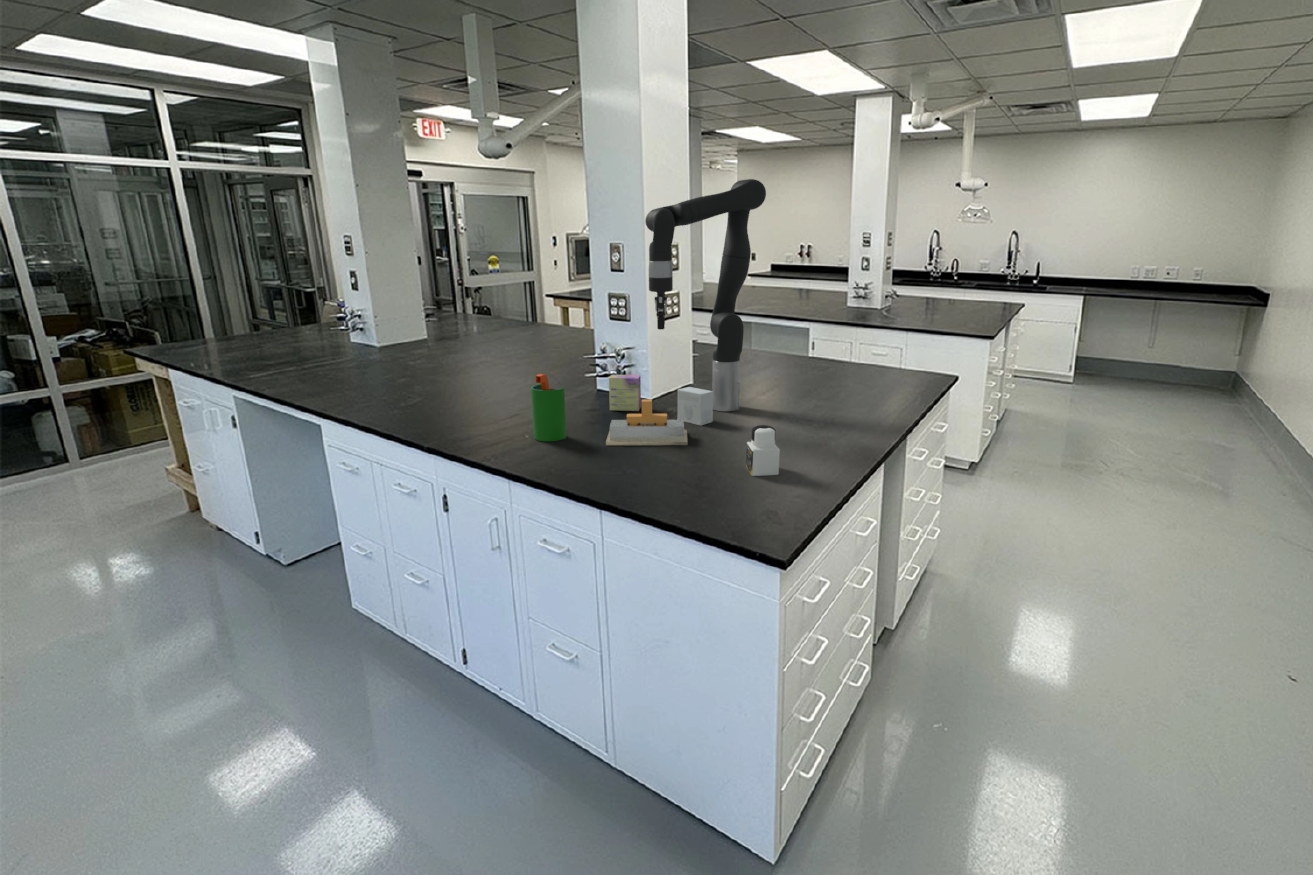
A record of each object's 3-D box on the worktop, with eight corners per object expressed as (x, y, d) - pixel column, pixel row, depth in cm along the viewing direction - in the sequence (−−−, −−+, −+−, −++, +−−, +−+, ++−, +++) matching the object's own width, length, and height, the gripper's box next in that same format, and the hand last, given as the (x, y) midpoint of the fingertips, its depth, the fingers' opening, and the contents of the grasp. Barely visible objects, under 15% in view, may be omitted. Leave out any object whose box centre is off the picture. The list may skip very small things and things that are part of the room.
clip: (667, 434, 198) (666, 399, 195) (667, 437, 195) (666, 401, 192) (627, 434, 198) (626, 399, 195) (627, 437, 195) (626, 401, 192)
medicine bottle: (745, 466, 174) (747, 423, 170) (771, 465, 174) (773, 422, 171) (751, 476, 167) (753, 431, 163) (778, 475, 167) (781, 430, 164)
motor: (571, 434, 202) (567, 371, 196) (557, 443, 194) (554, 377, 188) (542, 431, 205) (537, 369, 199) (527, 440, 197) (522, 375, 191)
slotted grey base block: (686, 432, 202) (686, 417, 201) (687, 445, 191) (687, 428, 189) (609, 433, 203) (609, 417, 202) (605, 445, 192) (605, 429, 190)
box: (641, 407, 232) (640, 374, 228) (639, 411, 226) (638, 378, 223) (612, 406, 233) (611, 374, 229) (609, 410, 227) (608, 377, 224)
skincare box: (713, 421, 214) (714, 390, 210) (701, 426, 209) (701, 394, 206) (689, 416, 220) (689, 385, 217) (676, 420, 216) (676, 389, 213)
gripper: (672, 277, 198) (672, 330, 204) (672, 274, 212) (672, 324, 217) (647, 277, 199) (648, 331, 204) (649, 274, 212) (650, 324, 217)
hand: (661, 327), depth 210 cm, fingers open, 8 cm apart
